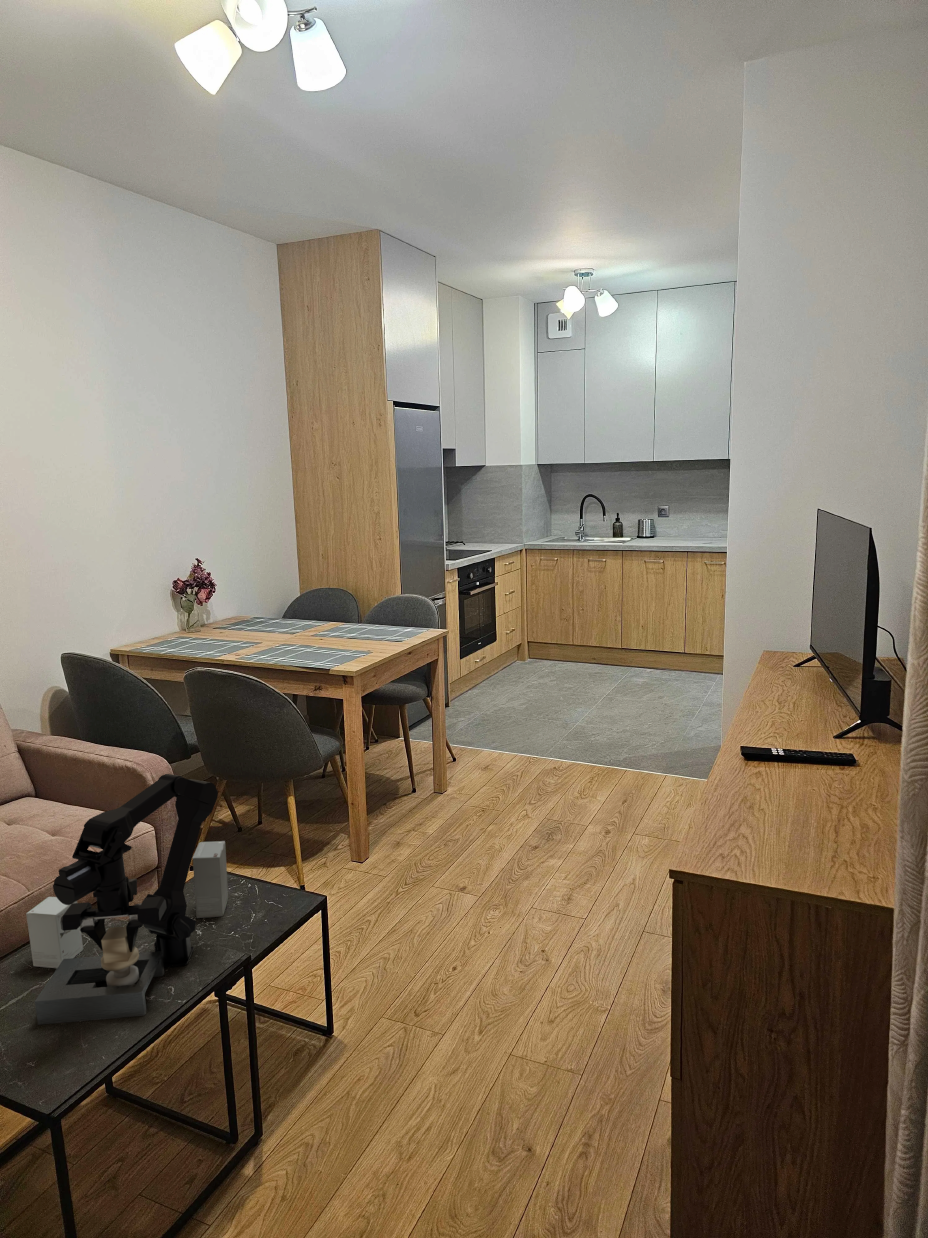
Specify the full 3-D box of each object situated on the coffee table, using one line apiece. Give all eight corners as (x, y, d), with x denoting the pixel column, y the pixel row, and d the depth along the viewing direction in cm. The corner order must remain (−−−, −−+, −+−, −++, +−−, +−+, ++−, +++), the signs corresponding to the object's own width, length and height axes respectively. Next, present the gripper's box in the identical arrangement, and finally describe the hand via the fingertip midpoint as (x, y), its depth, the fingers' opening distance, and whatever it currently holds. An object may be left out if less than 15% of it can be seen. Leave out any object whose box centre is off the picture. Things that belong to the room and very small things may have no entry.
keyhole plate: (164, 972, 174) (161, 951, 173) (144, 1015, 160) (141, 992, 159) (66, 981, 172) (63, 959, 172) (38, 1025, 159) (34, 1001, 158)
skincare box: (202, 902, 203) (196, 841, 200) (232, 899, 203) (226, 838, 201) (195, 920, 194) (188, 857, 192) (226, 917, 195) (219, 854, 192)
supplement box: (62, 969, 177) (55, 915, 174) (32, 967, 178) (24, 913, 176) (84, 950, 184) (77, 897, 181) (55, 947, 185) (48, 895, 183)
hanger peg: (146, 969, 170) (140, 922, 168) (135, 990, 163) (129, 941, 161) (111, 972, 169) (104, 925, 167) (99, 993, 162) (92, 944, 161)
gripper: (169, 857, 171) (177, 926, 174) (76, 864, 169) (86, 934, 172) (154, 883, 160) (163, 957, 163) (54, 891, 158) (65, 965, 161)
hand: (119, 952), depth 165 cm, fingers closed on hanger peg, 4 cm apart
